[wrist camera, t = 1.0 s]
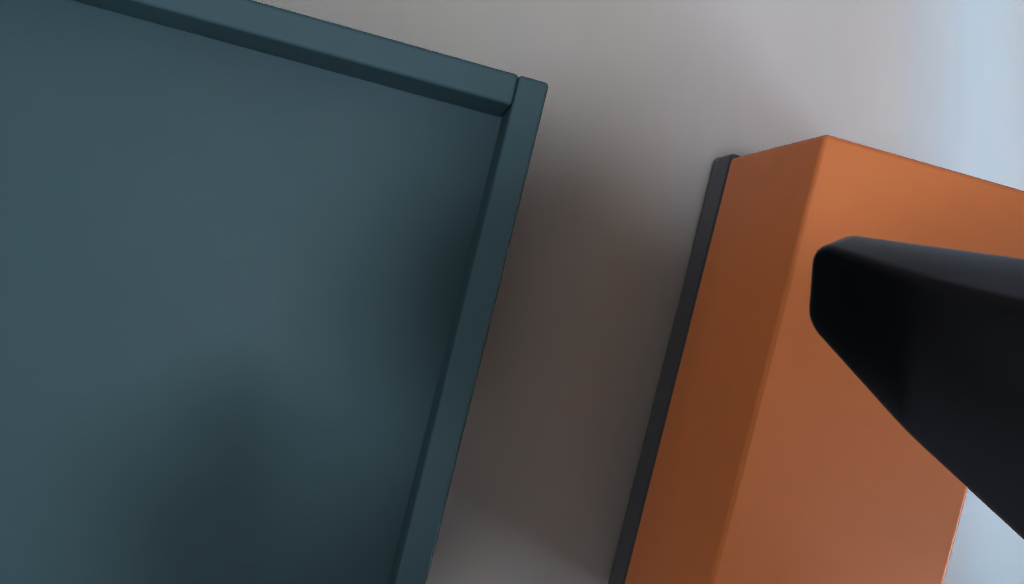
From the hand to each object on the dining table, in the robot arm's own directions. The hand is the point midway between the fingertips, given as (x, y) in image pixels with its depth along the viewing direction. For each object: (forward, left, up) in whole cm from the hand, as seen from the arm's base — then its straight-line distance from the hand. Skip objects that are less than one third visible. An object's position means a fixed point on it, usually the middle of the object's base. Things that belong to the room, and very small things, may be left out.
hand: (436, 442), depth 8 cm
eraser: (-8, 0, -10) cm, 13 cm away
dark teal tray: (+6, +2, -10) cm, 12 cm away
